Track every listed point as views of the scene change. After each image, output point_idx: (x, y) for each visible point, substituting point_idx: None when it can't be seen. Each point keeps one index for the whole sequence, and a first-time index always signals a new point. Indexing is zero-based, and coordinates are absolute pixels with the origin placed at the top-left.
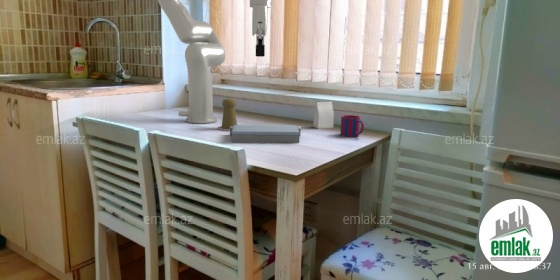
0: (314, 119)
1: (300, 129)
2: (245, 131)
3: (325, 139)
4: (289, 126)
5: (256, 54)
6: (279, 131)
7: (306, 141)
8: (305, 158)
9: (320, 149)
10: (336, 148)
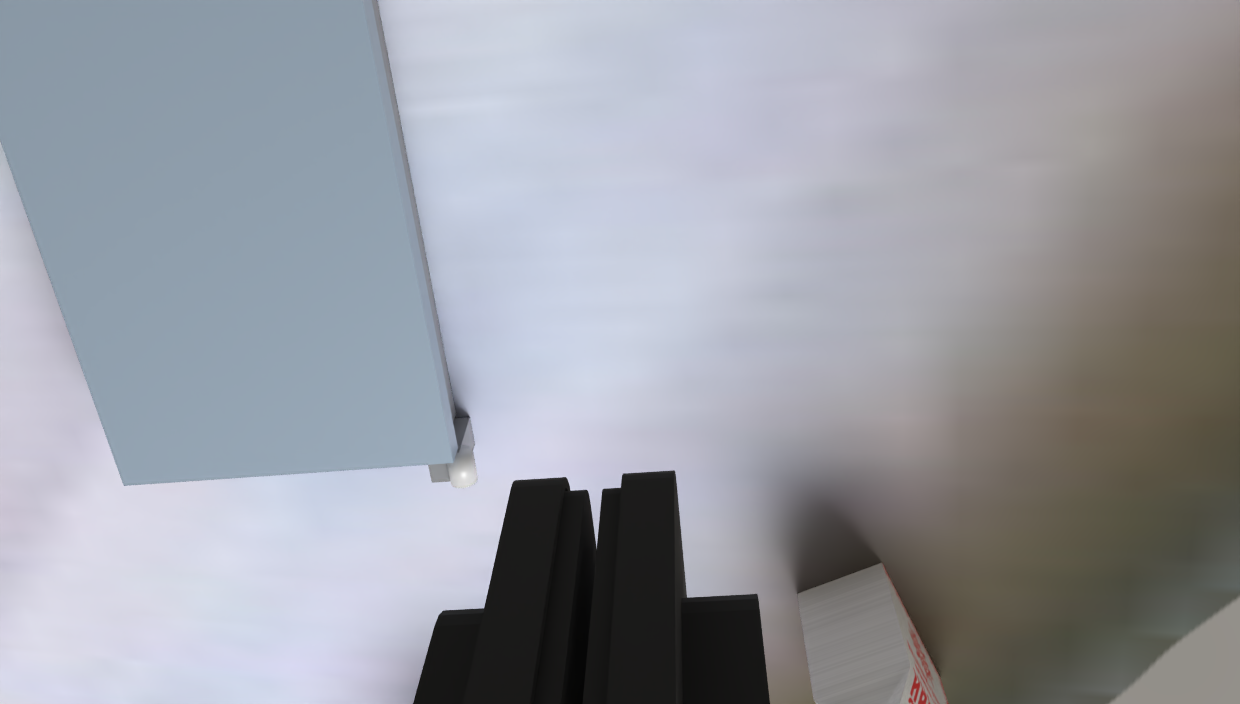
0: (883, 618)
1: (432, 478)
2: None
3: (349, 616)
4: (374, 402)
5: (512, 533)
6: (78, 320)
7: (234, 485)
8: None
9: (2, 564)
10: (74, 658)
